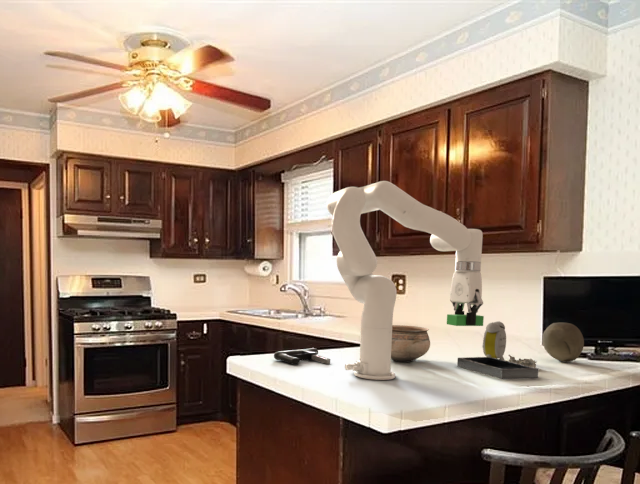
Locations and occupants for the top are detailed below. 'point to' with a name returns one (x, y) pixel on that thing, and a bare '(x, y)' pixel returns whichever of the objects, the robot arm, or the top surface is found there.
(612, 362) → the top surface
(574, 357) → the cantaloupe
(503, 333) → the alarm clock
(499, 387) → the top surface
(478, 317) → the block
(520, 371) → the dark grey tray
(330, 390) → the top surface
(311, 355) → the door handle
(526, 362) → the grey lumpy piece
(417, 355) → the cooking pot
